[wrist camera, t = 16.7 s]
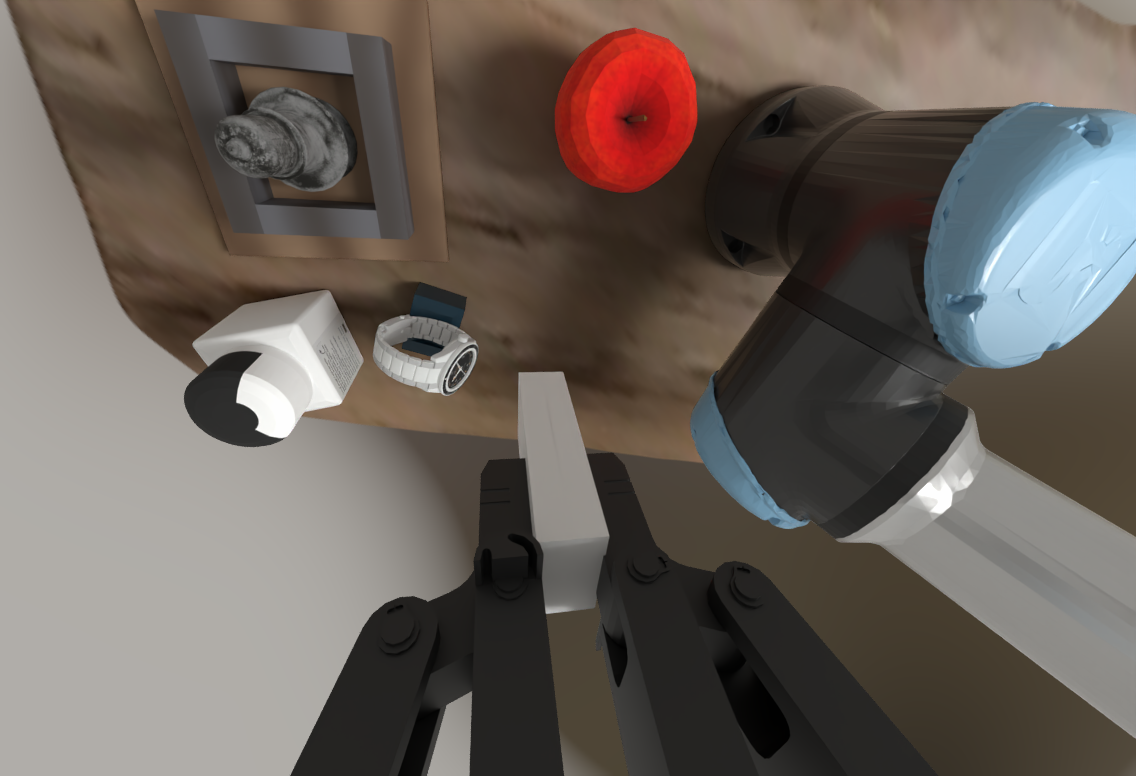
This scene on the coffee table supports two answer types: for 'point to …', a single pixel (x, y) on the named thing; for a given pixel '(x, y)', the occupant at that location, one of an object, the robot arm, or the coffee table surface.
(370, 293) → the coffee table surface
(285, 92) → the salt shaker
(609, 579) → the robot arm
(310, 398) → the container
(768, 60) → the coffee table surface
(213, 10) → the holder
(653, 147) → the apple
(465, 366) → the watch
